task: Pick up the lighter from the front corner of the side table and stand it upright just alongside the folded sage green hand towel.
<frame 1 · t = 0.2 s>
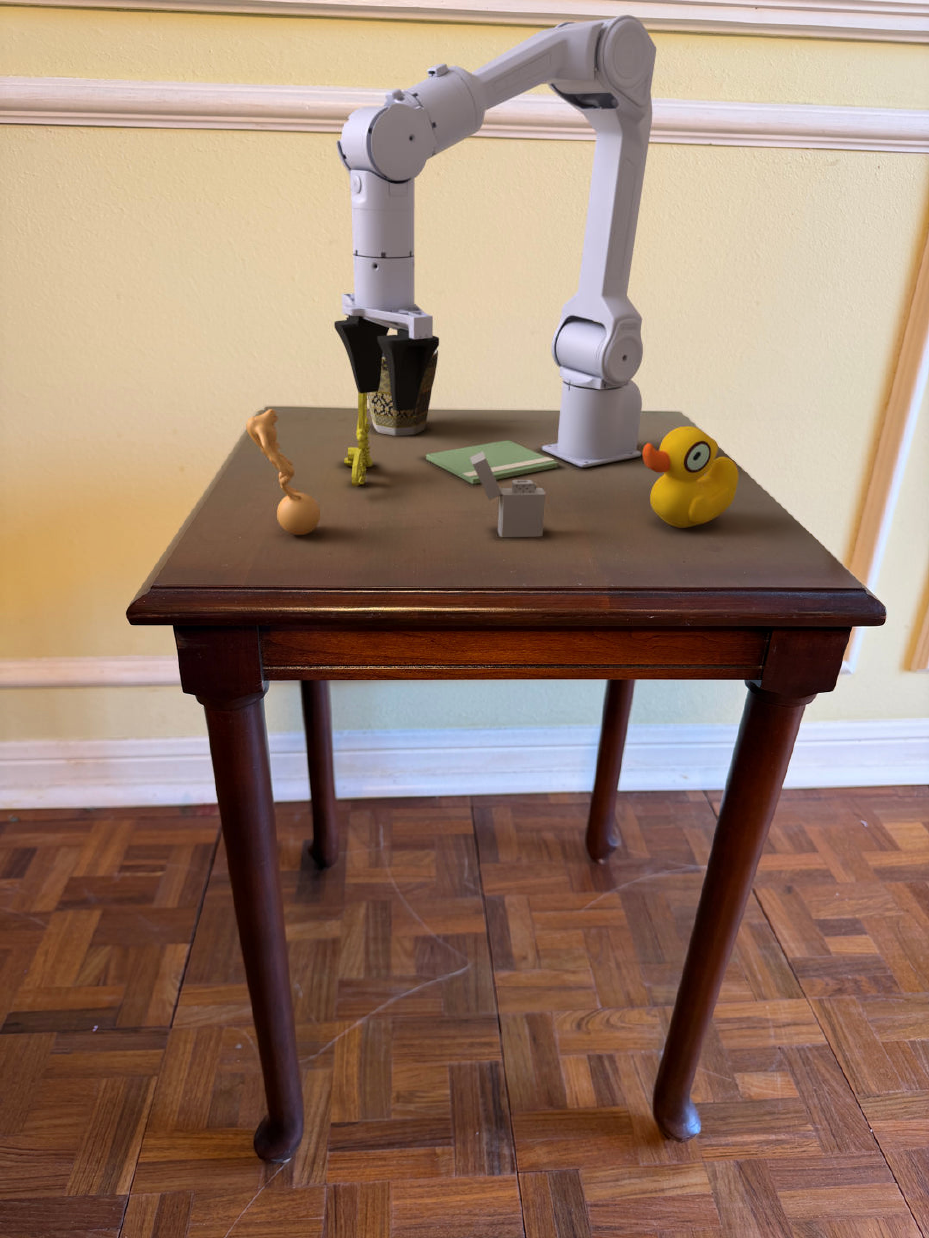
hand: (386, 400, 88), 10 cm above the table, tool pointing down, fingers open, 7 cm apart
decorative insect: (354, 483, 97), on the table
towel: (491, 463, 103), on the table
figurine: (289, 536, 83), on the table
ceramic cup: (401, 433, 114), on the table
duckling: (682, 526, 88), on the table
lighter: (504, 535, 85), on the table
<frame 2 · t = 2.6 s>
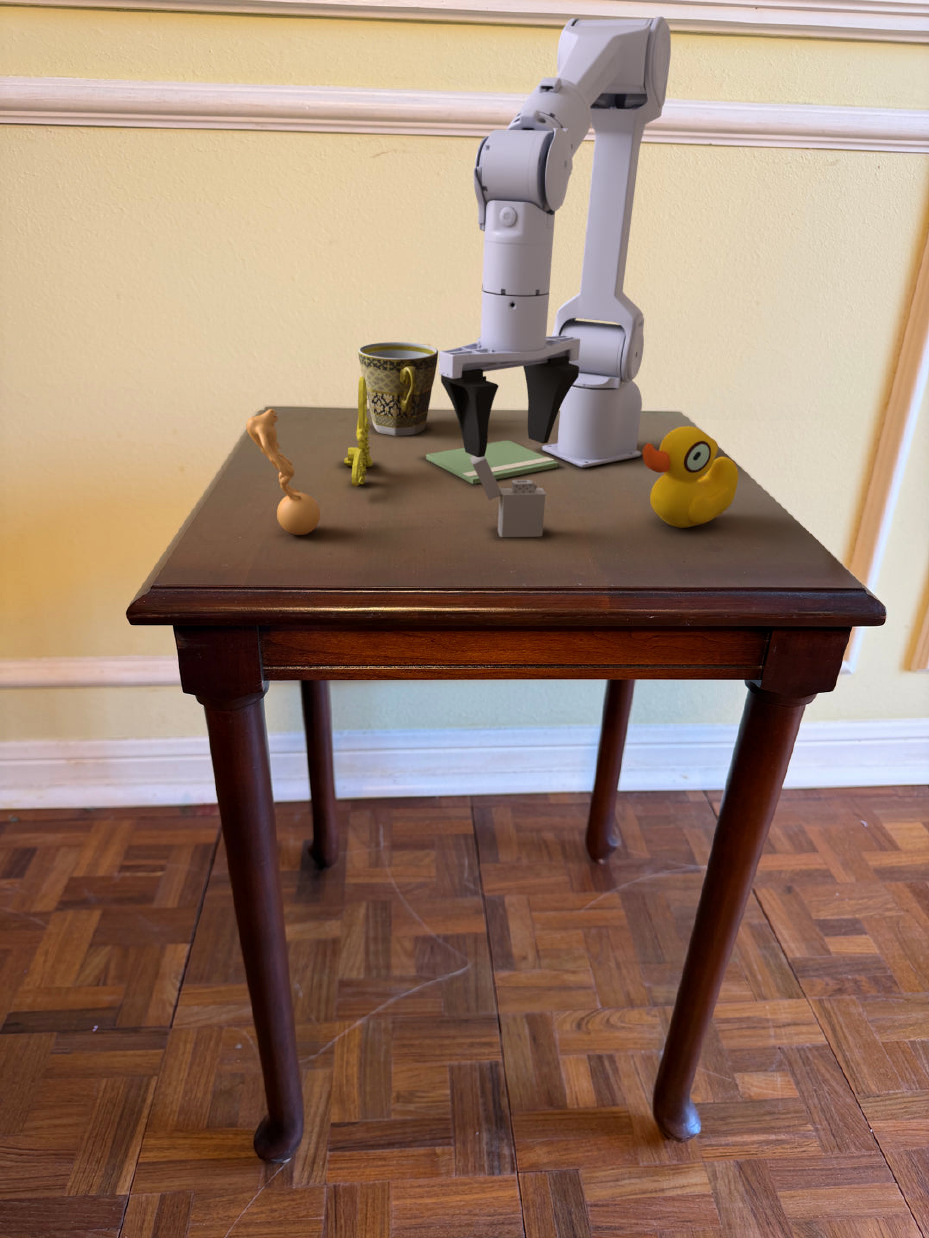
hand: (507, 447, 81), 9 cm above the table, tool pointing down, fingers open, 7 cm apart
nothing on the table moved.
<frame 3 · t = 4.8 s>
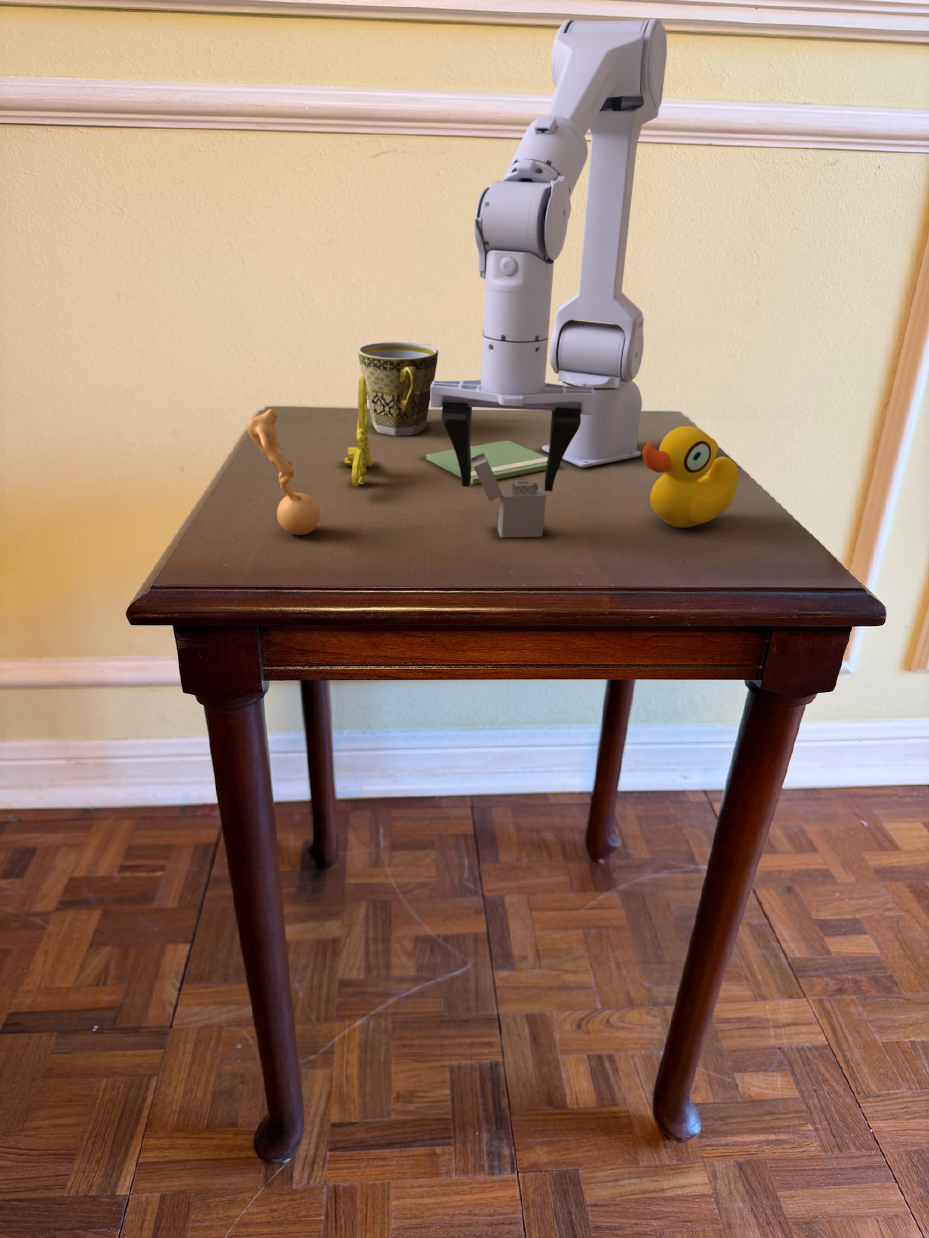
hand: (507, 485, 83), 5 cm above the table, tool pointing down, fingers open, 7 cm apart
lighter: (504, 534, 85), on the table, touching gripper
everything else where it was.
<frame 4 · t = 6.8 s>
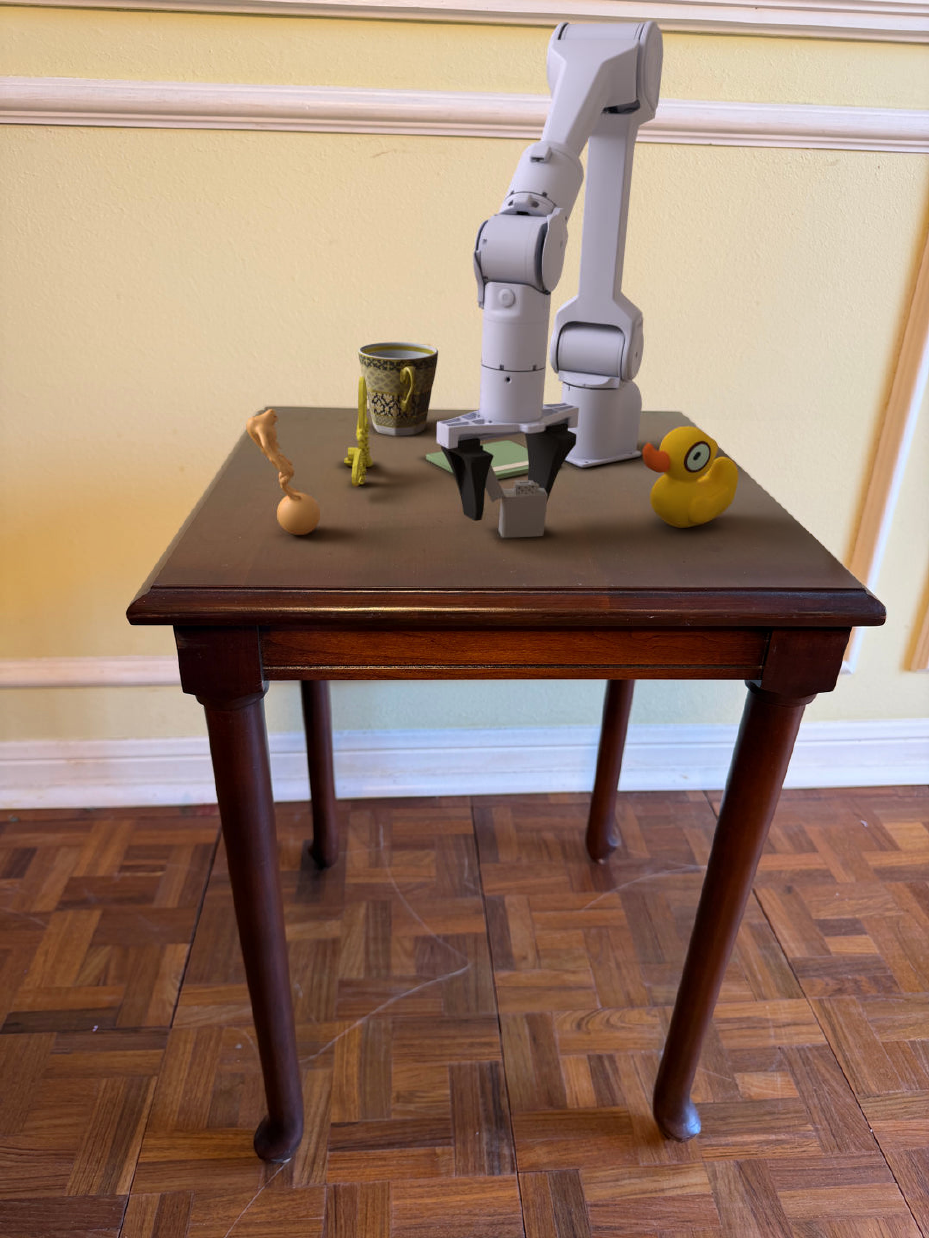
hand: (505, 509, 84), 2 cm above the table, tool pointing down, fingers closed on lighter, 7 cm apart
lighter: (505, 535, 85), on the table, touching gripper
everything else where it was.
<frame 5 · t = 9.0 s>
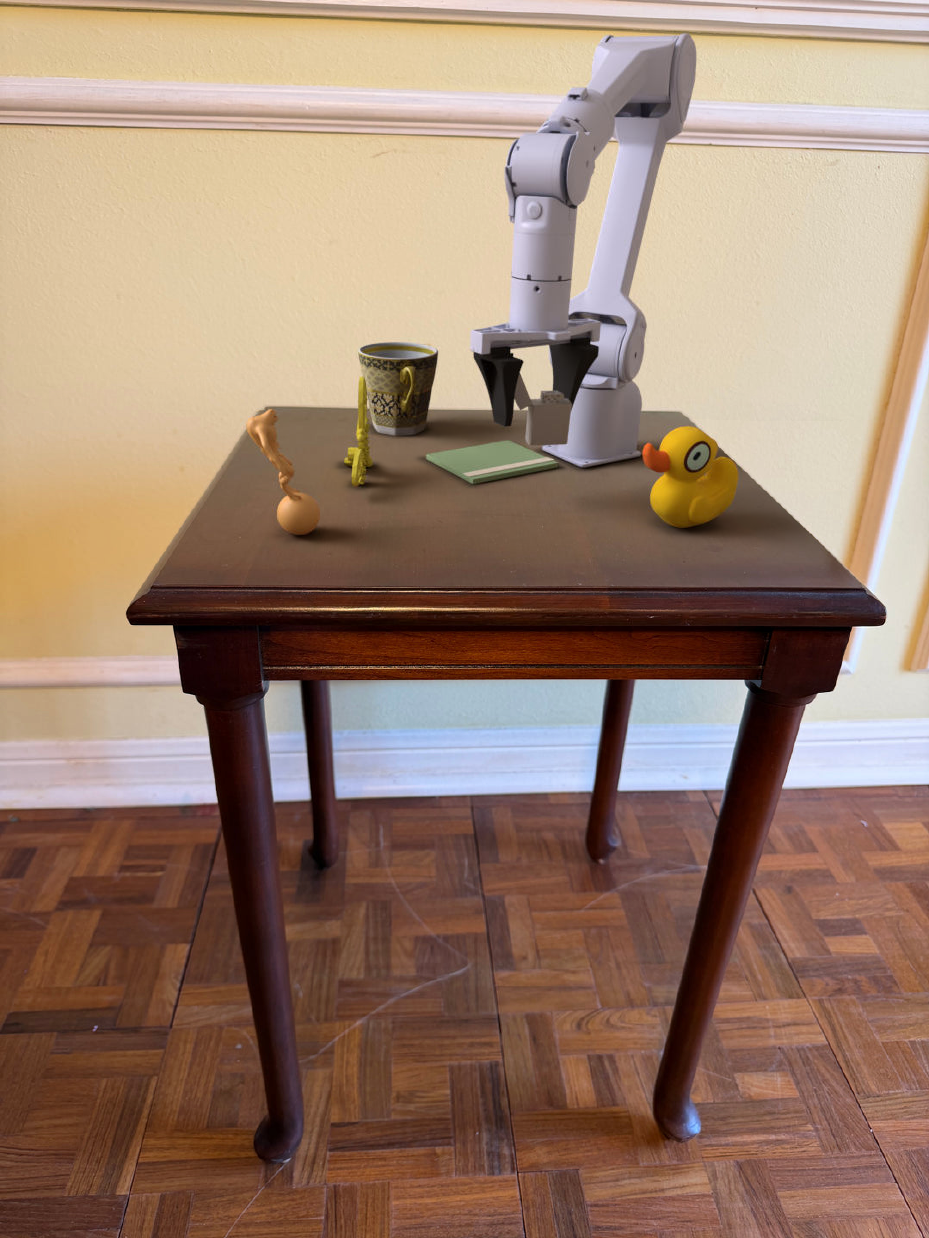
hand: (532, 419, 90), 8 cm above the table, tool pointing down, fingers closed on lighter, 7 cm apart
lighter: (532, 444, 91), point 6 cm above the table, touching gripper
everything else where it was.
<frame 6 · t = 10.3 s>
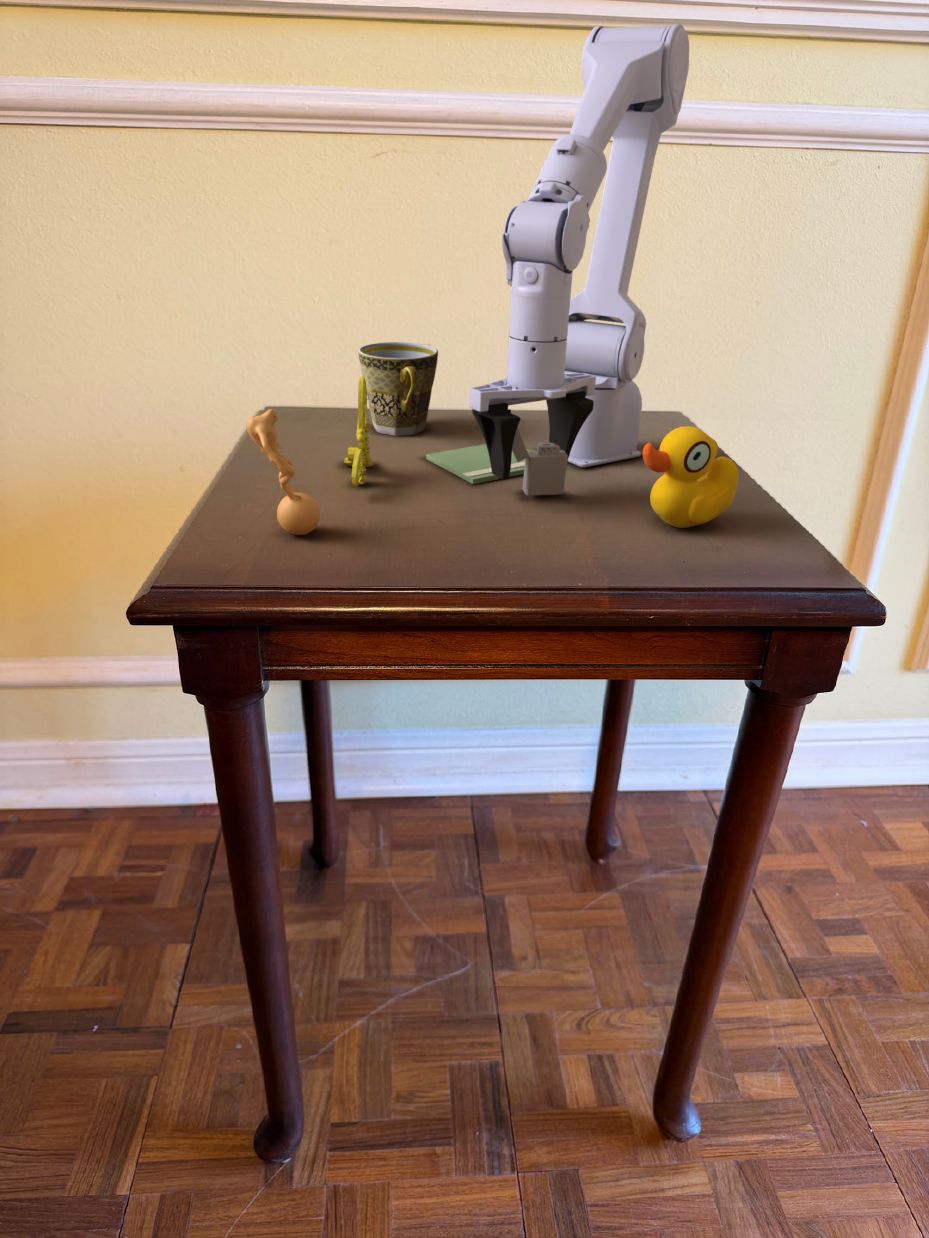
hand: (529, 470, 92), 3 cm above the table, tool pointing down, fingers closed on lighter, 7 cm apart
lighter: (529, 493, 94), on the table, touching gripper
everything else where it was.
when the fingers open (3 cm above the table, at t = 11.7 s): lighter stays where it is, on the table.
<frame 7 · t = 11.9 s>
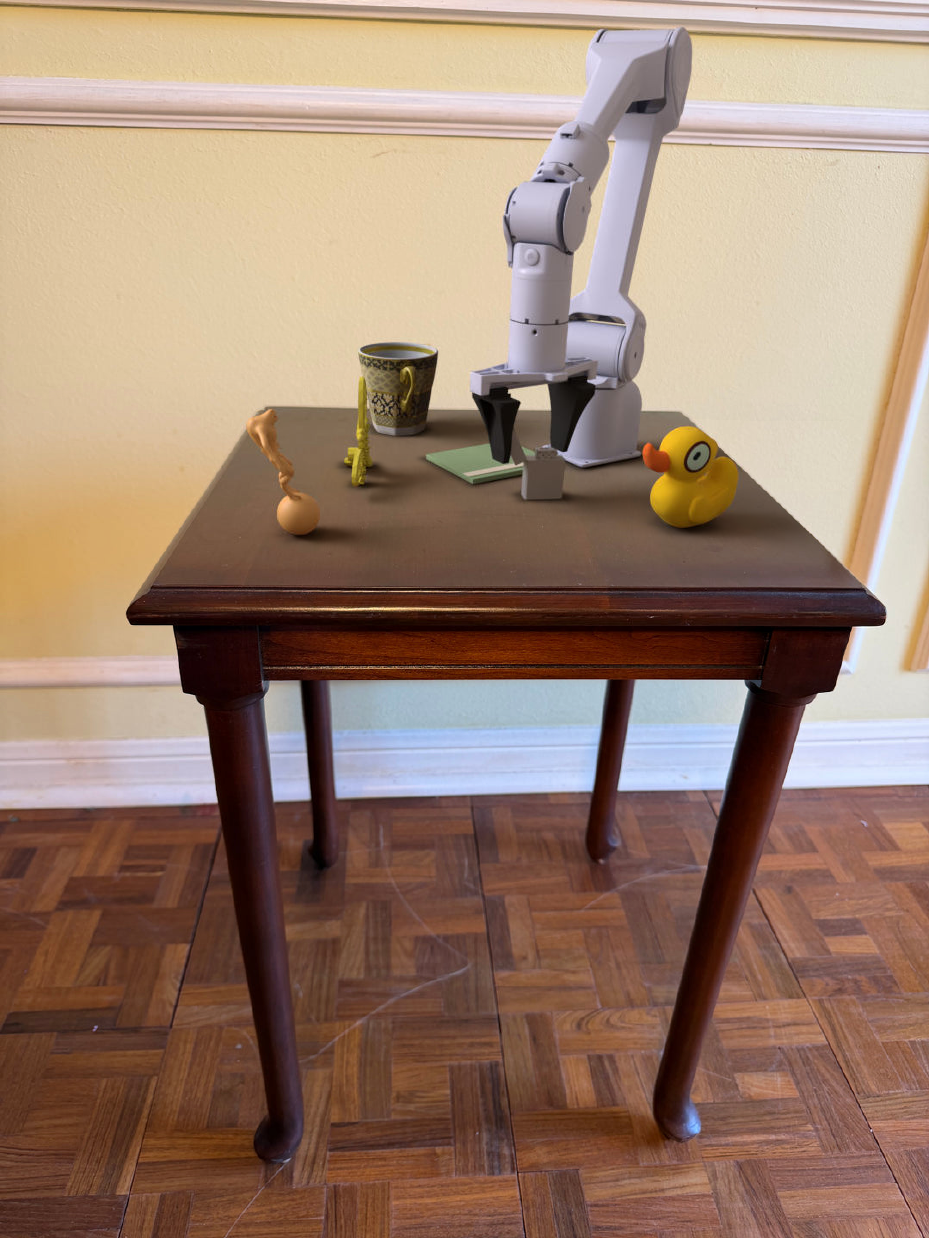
hand: (530, 455, 92), 5 cm above the table, tool pointing down, fingers open, 7 cm apart
lighter: (527, 498, 94), on the table, touching gripper
everything else where it was.
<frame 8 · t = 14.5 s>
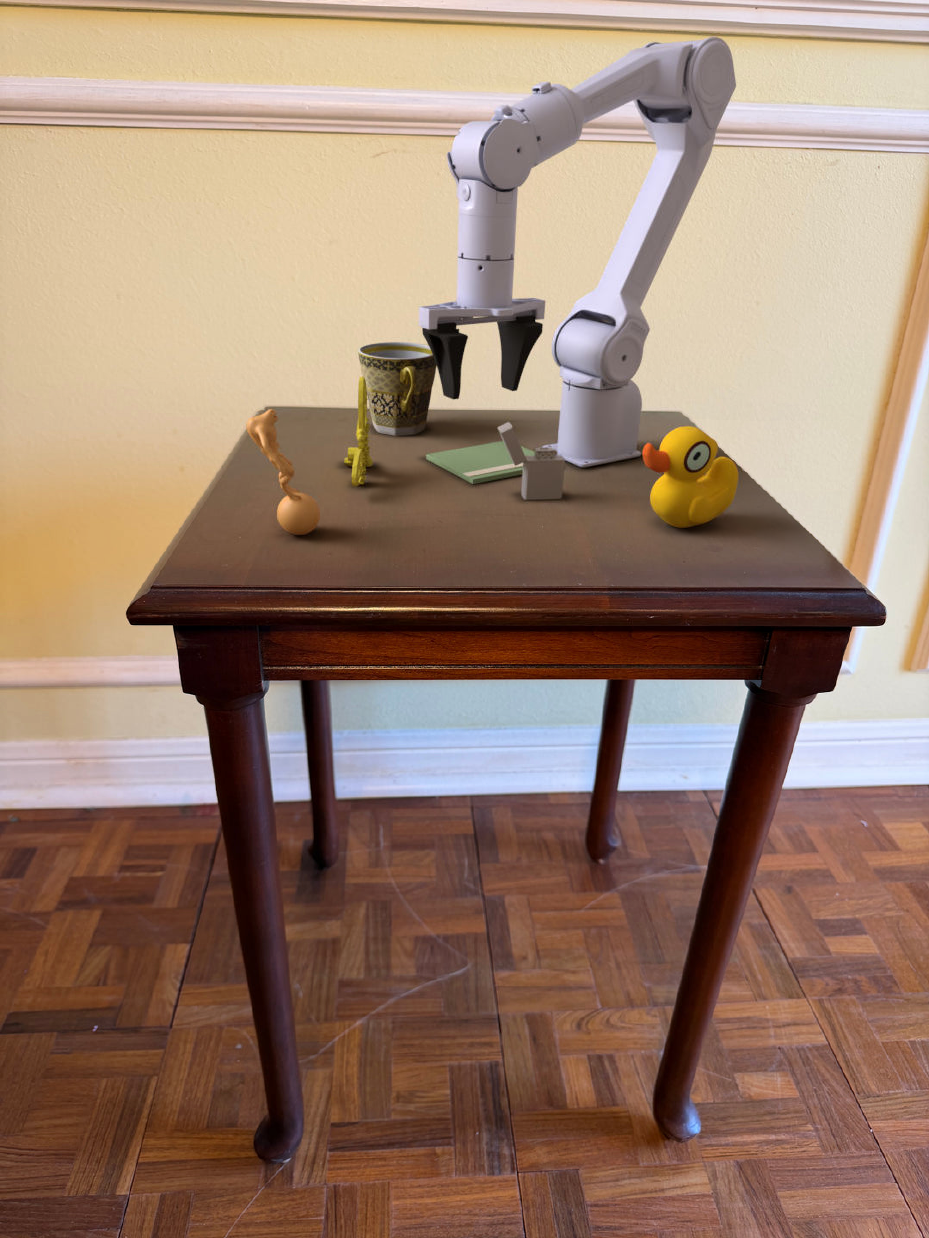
hand: (480, 393, 95), 9 cm above the table, tool pointing down, fingers open, 7 cm apart
lighter: (527, 498, 94), on the table
everything else where it was.
at the end: lighter inside the target area on the table beside the towel (1.0 cm from its centre), on the table; lighter tilted 0° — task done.
